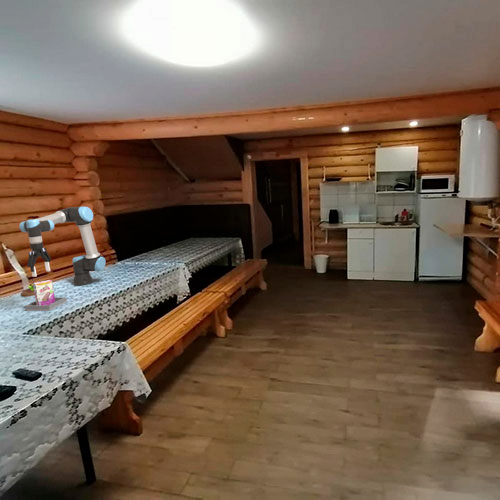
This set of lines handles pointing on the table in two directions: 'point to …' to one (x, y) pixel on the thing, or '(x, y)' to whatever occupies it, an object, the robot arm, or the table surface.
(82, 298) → the table surface
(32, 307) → the holder
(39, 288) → the candy bar box
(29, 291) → the plant
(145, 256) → the table surface
